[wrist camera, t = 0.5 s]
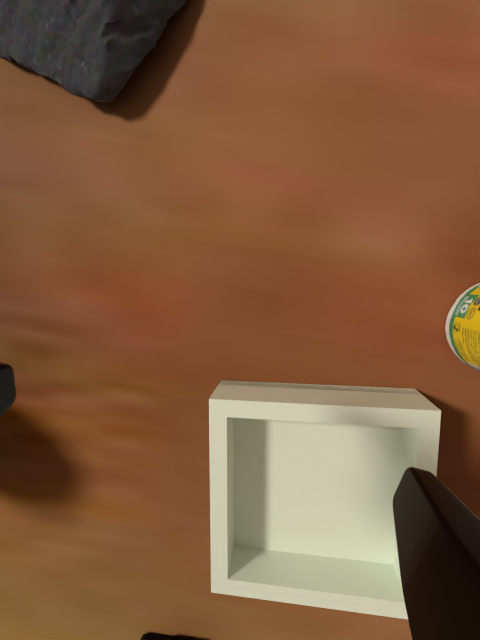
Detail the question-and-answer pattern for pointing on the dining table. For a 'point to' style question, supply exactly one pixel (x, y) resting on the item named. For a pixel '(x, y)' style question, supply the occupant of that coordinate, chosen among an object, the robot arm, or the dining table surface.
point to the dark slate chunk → (83, 40)
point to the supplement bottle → (465, 327)
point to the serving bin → (313, 490)
